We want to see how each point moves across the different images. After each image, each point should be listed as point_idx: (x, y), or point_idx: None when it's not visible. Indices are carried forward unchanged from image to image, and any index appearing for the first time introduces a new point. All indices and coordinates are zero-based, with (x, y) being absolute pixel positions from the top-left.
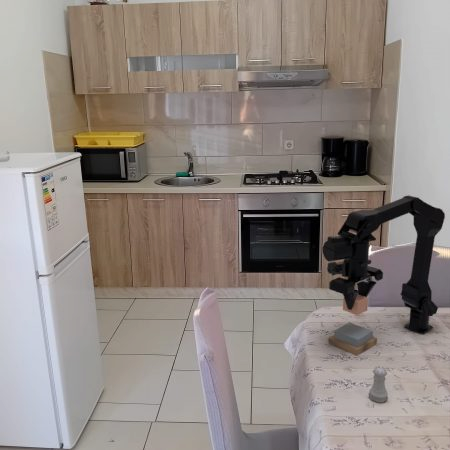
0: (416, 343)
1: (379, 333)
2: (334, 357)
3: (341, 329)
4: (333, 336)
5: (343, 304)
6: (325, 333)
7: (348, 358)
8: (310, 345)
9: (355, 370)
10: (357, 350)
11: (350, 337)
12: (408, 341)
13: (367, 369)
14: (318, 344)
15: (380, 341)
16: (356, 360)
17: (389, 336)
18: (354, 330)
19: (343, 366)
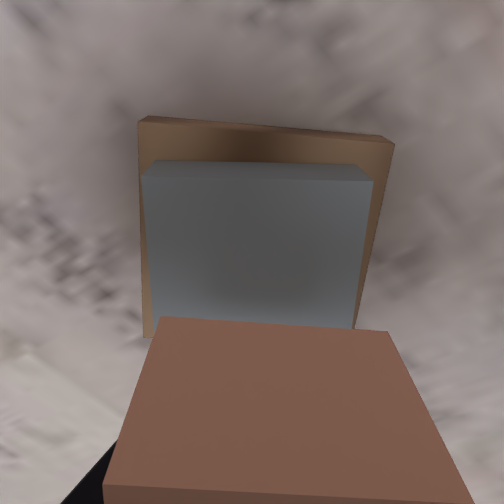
0: (470, 442)
1: (484, 284)
2: (36, 241)
3: (201, 208)
4: (177, 139)
5: (140, 377)
6: (257, 3)
7: (93, 298)
8: (14, 32)
9: (31, 370)
10: (147, 334)
11: (153, 309)
12: (471, 414)
13: (85, 399)
14: (75, 70)
15: (387, 328)
16: (111, 334)
17: (476, 336)
18: (262, 283)
19: (8, 318)
